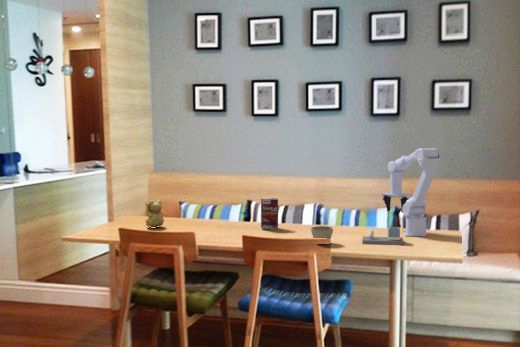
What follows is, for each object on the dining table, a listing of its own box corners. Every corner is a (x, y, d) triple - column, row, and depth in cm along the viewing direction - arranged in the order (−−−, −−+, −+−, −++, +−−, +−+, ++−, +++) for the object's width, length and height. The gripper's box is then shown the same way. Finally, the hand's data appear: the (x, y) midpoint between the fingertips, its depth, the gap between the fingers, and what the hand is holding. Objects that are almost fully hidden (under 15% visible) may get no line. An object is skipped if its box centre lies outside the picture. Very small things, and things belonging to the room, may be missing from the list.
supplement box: (262, 230, 288) (261, 199, 286) (260, 228, 292) (260, 198, 291) (278, 229, 289) (278, 199, 287) (277, 227, 293) (276, 197, 292)
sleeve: (387, 237, 257) (388, 226, 256) (399, 237, 256) (399, 227, 255) (388, 239, 252) (388, 228, 251) (399, 240, 251) (399, 229, 250)
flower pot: (309, 241, 258) (309, 226, 257) (330, 241, 259) (330, 225, 258) (313, 246, 248) (313, 230, 247) (335, 245, 249) (335, 229, 248)
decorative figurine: (161, 225, 303) (160, 198, 302) (166, 228, 296) (166, 200, 295) (144, 227, 299) (143, 199, 297) (149, 229, 292) (148, 201, 290)
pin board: (402, 240, 258) (402, 228, 257) (403, 244, 249) (403, 232, 248) (362, 239, 261) (362, 227, 261) (362, 243, 252) (362, 231, 252)
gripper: (379, 184, 283) (379, 211, 284) (406, 186, 274) (406, 213, 275) (385, 183, 289) (385, 209, 290) (412, 185, 280) (411, 212, 281)
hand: (395, 211), depth 283 cm, fingers open, 7 cm apart
